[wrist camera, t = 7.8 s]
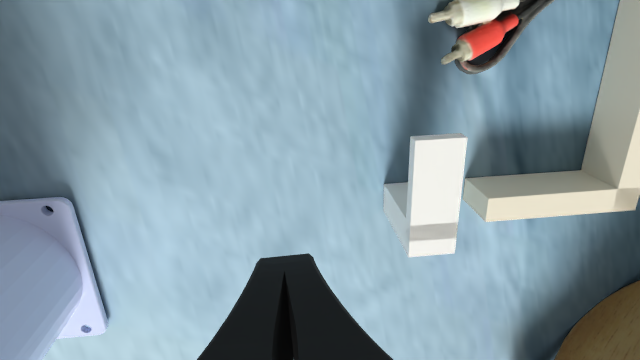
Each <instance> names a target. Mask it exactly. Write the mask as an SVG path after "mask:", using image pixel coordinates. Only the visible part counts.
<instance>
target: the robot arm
mask: <svg viewBox="0 0 640 360" xmlns="http://www.w3.org/2000/svg"><path fill="white" fill-rule="evenodd" d="M46 206H50V207H51V208H52V209H53V212H50V211H48V210H47V209H46ZM85 325H88V326H90V327H91V328H89V327H86V326H85ZM107 327H108V320H107V317H106V314H105V310H104V307H103V303H102V300H101V297H100V293H99V290H98V287H97V283H96V280H95V277H94V273H93V270H92V267H91V263H90V260H89V257H88V253H87V250H86V247H85V243H84V240H83V237H82V233H81V230H80V227H79V223H78V220H77V217H76V213H75V210H74V207H73V204H72V203H71V202H70V201H69V200H68V199H66V198H64V197H53V198H38V199H23V200H9V201H0V360H42V359H43V358H44V356H45V355H46V353H47V352H48V350H49V349H50V347H51V346H52V345H53V343H54V342H55V340H56V339H59V338H70V337H81V336H91V335H100V334H103V333H104V332H105V331H106V329H107ZM293 359H294V360H393V359H392V358H391V357H390V356H389V355H388V354H387V353H386V352H384V351H383V350H382V349H381V348H380V347H379V346H378V345H377V344H376V343H375V342H374V341H373V340H372V339H371V338H370V337H369V336H368V334H367V333H366V332H365V331H364V330H363V329H362V328H361V327H360V326H359V325H358V323H357V322H356V321H355V320H354V319H353V318H352V316H351V315H350V314H349V313H348V312H347V310H346V309H345V308H344V306H343V305H342V304H341V303H340V301H339V300H338V298H337V297H336V296H335V294H334V293H333V292H332V290H331V289H330V287H329V286H328V284H327V283H326V281H325V280H324V278H323V276H322V275H321V273H320V271H319V269H318V267H317V266H316V263H315V261H314V258H313V257H312V256H311V255H310V254H300V255H290V256H280V257H270V258H261V259H260V260H259V261H258V262H257V263H256V266H255V268H254V271H253V273H252V275H251V277H250V279H249V281H248V283H247V285H246V287H245V288H244V290H243V292H242V294H241V296H240V297H239V299H238V301H237V302H236V304H235V306H234V307H233V309H232V311H231V312H230V314H229V316H228V317H227V319H226V320H225V321H224V323H223V324H222V326H221V327H220V329H219V330H218V332H217V333H216V335H215V336H214V338H213V339H212V340H211V342H210V343H209V345H208V346H207V347H206V348H205V350H204V351H203V352H202V354H201V355H200V356H199V358H198V359H197V360H293Z"/></svg>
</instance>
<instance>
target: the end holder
mask: <svg viewBox="0 0 640 360" xmlns="http://www.w3.org/2000/svg"><path fill="white" fill-rule="evenodd" d="M639 195H640V0H620V2H619V7H618V11H617V15H616V20H615V24H614V28H613V33H612V37H611V42H610V46H609V50H608V55H607V59H606V63H605V68H604V72H603V76H602V81H601V85H600V89H599V94H598V98H597V102H596V107H595V111H594V116H593V120H592V124H591V129H590V133H589V137H588V142H587V146H586V150H585V155H584V159H583V163H582V168H581V170H576V171H562V172H547V173H533V174H519V175H505V176H490V177H476V178H465V185H464V194H463V200H464V201H465V202H466V203H467V204H468V205H469V206H470V207H471V208H472V209H473V210H474V211H475V212H476V213H477V214H478V215H479V216H480V217H481V218H482V219H483V220H484V221H485V222H490V221H502V220H515V219H528V218H541V217H553V216H566V215H579V214H591V213H604V212H617V211H629V210H635V208H636V205H637V202H638V198H639Z"/></svg>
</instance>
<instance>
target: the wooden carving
mask: <svg viewBox="0 0 640 360" xmlns="http://www.w3.org/2000/svg"><path fill="white" fill-rule="evenodd" d="M554 360H640V280H639V281H636V282H634V283H632V284H629V285H627V286H625V287H623V288H621V289H620V290H618V291H617V292H615V293H613V294H611V295H610V296H608V297H606V298H605V299H604V300H602V301H601V302H600V303H598V304H597V305H596V306H595V307H594V308H592V309H591V310H590V311H589V312H588V313H587V314H586V315H585V316H584V317H582V318H581V319H580V320H579V321H578V322H577V323H576V324H575V326H574V327H573V328H572V329H571V331H570V332H569V334H568V335H567V336H566V338H565V339H564V341H563V343H562V345H561V347H560V349H559V351H558V353H557V355H556V357H555V359H554Z"/></svg>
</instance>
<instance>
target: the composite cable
mask: <svg viewBox="0 0 640 360" xmlns="http://www.w3.org/2000/svg"><path fill="white" fill-rule="evenodd" d="M553 1H554V0H453V1H452V2H450V3H449V4H448V5H447V6H446V7H445V8H444V10H443V11H440V12H437V13H431V14H430V15H429V17H428V21H429V23H434V22H439V21H443V20H445V22H446V23H447V24H448V25H451V26H455V27H456V28H461V27H465V26H469V29H468V30H467V31H466V32H465V33H464V34H463V35H461V36H460V37H459V38H458V39H457V41H456V44H455V45H454V46H452V53H449V54H447V55H446V56H444V57H443V58H442V59H441V64H442V65H444V64H447V63H449V62H451V61H453V60H454V59H455V64H456V66H457V67H458V68H459V69H460V70H461V71H463V72H465V73H467V74H477V73H479V72H482V71H485V70H488V69H490V68H491V67H493V66H495V65H496V64H497V63H498V62H499V61H500V60H501V59H502V58H504V56H505V55H506V54H507V53H508V51H509V50H510V49H511V47H512V46H513V44H514V43H515V41H516V40H517V39H518V37H519V36H520V34H521V33H522V31H523V30H524V29H525V27H526V26H527V25H528V24H529V23H530V22H531V21H532V20H533V19H534V18H535V17H536V16H537V15H538V14H539V13H540V12H541V11H542V10H543V9H544V8H545V7H546V6H548V5H549V4H551V3H552V2H553ZM512 28H513V29H512ZM511 29H512V30H511ZM509 30H511V31H510V33H509V34H508V36H507V37H506V39H505V40H504V41H503V43H502V44H501V46H500V47H499V48H498V50H497V51H496V53H495V54H494V55H493V56H492V57H491V58H490V59H489V60H488V61H487V62H486V63H483V64H481V65H477V66H476V65H472V64H469V63H468V62H467V61H466V60H472V59H474V58H476V57H478V56H479V55H481V54H483V53H485V52H486V51H488V50H490V49H491V48H493V47H495V46H496V45H498V44H499V43H500V42H501V41H502V40H503V38H504V35H505V33H506V32H507V31H509Z"/></svg>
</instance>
